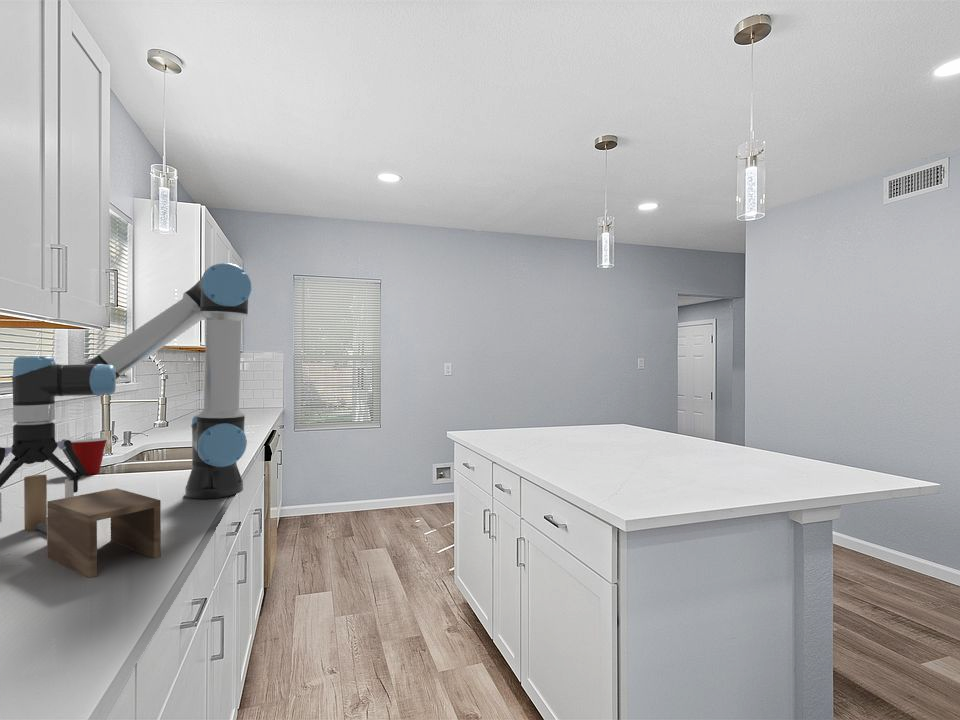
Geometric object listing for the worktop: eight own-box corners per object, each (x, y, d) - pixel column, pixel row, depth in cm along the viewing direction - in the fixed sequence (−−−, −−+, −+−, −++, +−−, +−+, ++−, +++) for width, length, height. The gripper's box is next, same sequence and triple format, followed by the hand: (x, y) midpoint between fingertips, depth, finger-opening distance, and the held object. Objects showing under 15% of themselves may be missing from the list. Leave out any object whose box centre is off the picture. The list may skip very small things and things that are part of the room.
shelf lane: (116, 539, 117) (116, 488, 117) (160, 556, 107) (160, 500, 107) (47, 557, 106) (47, 501, 106) (89, 577, 97) (89, 515, 97)
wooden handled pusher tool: (48, 523, 128) (47, 473, 128) (92, 542, 115) (91, 486, 115) (16, 530, 123) (15, 477, 123) (58, 551, 110) (58, 492, 110)
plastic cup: (109, 469, 189) (109, 435, 189) (106, 474, 180) (106, 439, 180) (71, 472, 184) (71, 437, 184) (66, 478, 175) (66, 441, 175)
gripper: (88, 416, 137) (89, 499, 137) (-44, 427, 116) (-44, 525, 116) (102, 418, 133) (102, 503, 133) (-33, 430, 112) (-32, 531, 112)
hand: (34, 514), depth 125 cm, fingers open, 13 cm apart
